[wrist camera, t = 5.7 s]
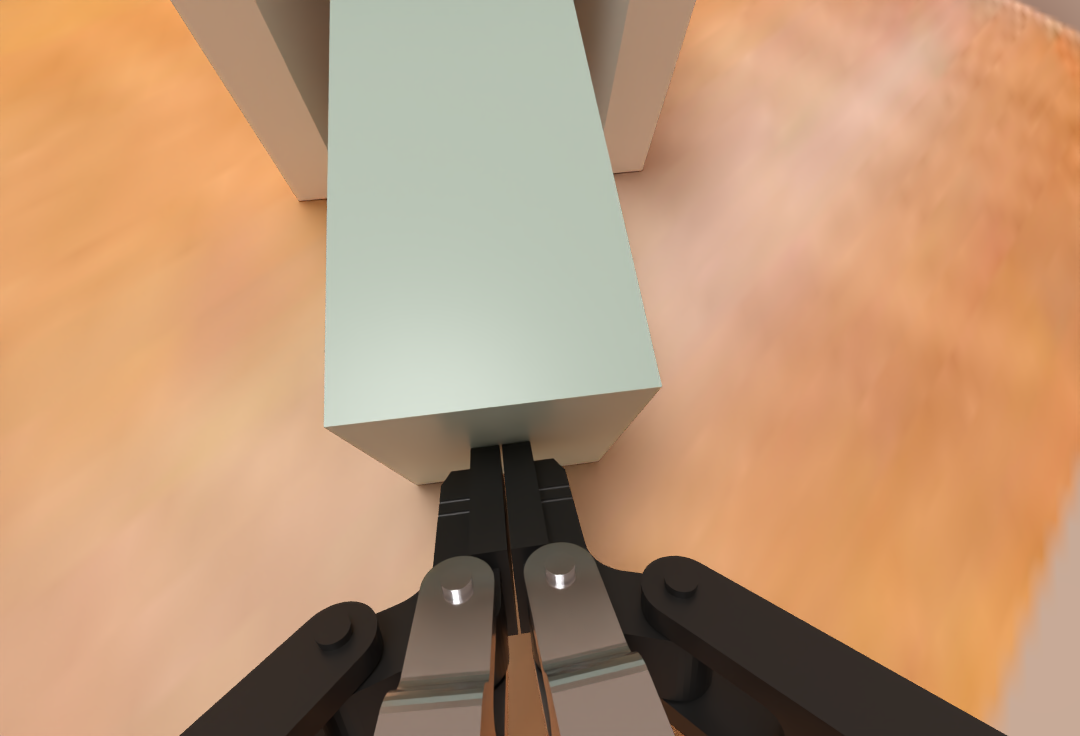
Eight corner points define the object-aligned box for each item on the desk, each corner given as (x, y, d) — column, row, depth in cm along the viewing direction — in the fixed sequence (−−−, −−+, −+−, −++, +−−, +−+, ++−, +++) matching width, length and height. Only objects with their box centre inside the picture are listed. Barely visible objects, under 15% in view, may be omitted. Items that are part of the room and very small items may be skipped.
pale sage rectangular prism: (598, 461, 17) (662, 386, 9) (416, 485, 16) (324, 427, 9) (548, 173, 21) (563, -44, 13) (401, 186, 20) (330, -32, 13)
